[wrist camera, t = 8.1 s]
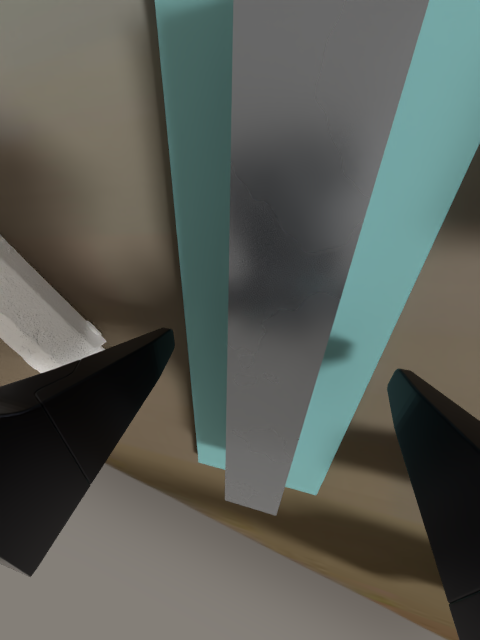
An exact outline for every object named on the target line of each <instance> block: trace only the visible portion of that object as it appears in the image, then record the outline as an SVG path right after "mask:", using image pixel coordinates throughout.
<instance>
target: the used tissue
mask: <svg viewBox="0 0 480 640" xmlns="http://www.w3.org/2000/svg"><path fill="white" fill-rule="evenodd" d="M101 335H102V333H101V332H99V331H98V330H97V329H96V327H95V326H94V325H93V324H92V323H90V322H89V321H86V320H85V319H84V318H83V317H82V316H81V315H80V314H79V313H78V312H77V311H76V310H75V309H74V308H73V307H72V306H71V305H70V304H69V303H68V302H67V301H66V300H65V299H64V298H63V297H62V296H61V295H60V294H59V293H58V292H57V291H56V290H55V289H54V288H53V287H52V286H51V285H50V284H49V283H48V282H47V281H46V280H45V279H44V278H43V277H42V276H41V275H40V274H39V273H38V272H37V271H36V270H35V269H34V268H33V267H32V266H30V265H29V264H28V262H26V260H25V259H24V258H23V257H22V256H21V255H20V254H19V253H17V252H16V250H15V249H14V248H13V247H12V246H11V245H9V244H8V242H7V241H6V240H5V239H4V238H3V237H2V236H1V235H0V338H1V339H2V340H3V341H4V342H5V343H6V344H8V345H9V346H10V347H11V348H12V349H13V350H14V351H16V352H17V353H18V354H19V355H20V356H22V357H23V359H24V360H25V361H26V362H27V363H28V364H29V365H30V366H32V367H33V368H34V369H35V370H36V369H37V370H38V371H39V372H40V373H44V372H47V371H50V370H52V369H55V368H58V367H61V366H63V365H66V364H69V363H71V362H74V361H77V360H81V359H82V358H85V357H87V356H90V355H92V354H95V353H98V352H100V351H103V350H105V349H104V348H103V347H102V346H101V345H103V344H104V343H105V342H106V340H105V339H104V338H103V337H102V336H101Z"/></svg>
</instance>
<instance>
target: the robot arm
mask: <svg viewBox="0 0 480 640" xmlns="http://www.w3.org/2000/svg"><path fill="white" fill-rule="evenodd" d="M174 347H175V343H174V335H173V331H172V329H169V328H161V329H158V330H155V331H153V332H150V333H147V334H145V335H142V336H140V337H137V338H134V339H132V340H129V341H127V342H124V343H121V344H119V345H116V346H113V347H111V348H108V349H106V350H103V351H100V352H98V353H95V354H92V355H90V356H87V357H85V358H82V359H81V360H77V361H74V362H71V363H69V364H66V365H63V366H61V367H58V368H55V369H52V370H50V371H47V372H44V373H41V374H38V375H35V376H32V377H29V378H26V379H23V380H19V381H16V382H13V383H10V384H7V385H4V386H1V387H0V564H2V565H4V566H6V567H8V568H11V569H13V570H15V571H18V572H20V573H22V574H24V575H27V576H29V577H31V576H32V574H33V573H34V572H35V570H36V569H37V567H38V566H39V564H40V563H41V561H42V560H43V558H44V557H45V555H46V553H47V552H48V550H49V549H50V547H51V546H52V544H53V543H54V541H55V539H56V538H57V536H58V535H59V533H60V532H61V530H62V529H63V527H64V526H65V524H66V523H67V521H68V519H69V518H70V516H71V515H72V513H73V512H74V510H75V508H76V507H77V505H78V504H79V502H80V501H81V499H82V498H83V496H84V495H85V493H86V492H87V490H88V488H89V487H90V484H91V483H92V482H93V480H94V479H95V477H96V475H97V474H98V473H99V471H100V470H101V468H102V466H103V465H104V463H105V462H106V460H107V459H108V457H109V456H110V454H111V452H112V451H113V449H114V448H115V446H116V445H117V443H118V442H119V440H120V438H121V437H122V435H123V434H124V432H125V431H126V429H127V428H128V426H129V424H130V423H131V421H132V420H133V418H134V417H135V415H136V414H137V412H138V411H139V409H140V407H141V406H142V404H143V403H144V401H145V400H146V398H147V397H148V395H149V393H150V392H151V390H152V389H153V387H154V386H155V384H156V383H157V381H158V379H159V378H160V376H161V374H162V372H163V370H164V368H165V366H166V364H167V362H168V360H169V358H170V356H171V354H172V352H173V350H174ZM387 391H388V396H389V402H390V407H391V413H392V418H393V423H394V428H395V432H396V435H397V439H398V442H399V445H400V448H401V451H402V455H403V458H404V461H405V464H406V468H407V471H408V474H409V477H410V481H411V484H412V487H413V490H414V493H415V497H416V500H417V503H418V506H419V510H420V513H421V516H422V519H423V523H424V526H425V529H426V532H427V535H428V539H429V542H430V545H431V548H432V552H433V555H434V558H435V561H436V565H437V568H438V571H439V574H440V577H441V581H442V584H443V587H444V590H445V594H446V597H447V600H448V602H449V603H450V604H449V607H450V611H451V614H452V617H453V620H454V624H455V627H456V630H457V633H458V636H459V640H480V421H479V420H478V419H476V418H475V417H473V416H472V415H471V414H469V413H468V412H467V411H465V410H464V409H462V408H461V407H460V406H458V405H457V404H456V403H454V402H453V401H451V400H450V399H449V398H447V397H446V396H445V395H443V394H442V393H441V392H439V391H438V390H436V389H435V388H434V387H432V386H431V385H430V384H428V383H427V382H425V381H424V380H423V379H421V378H420V377H419V376H417V375H416V374H414V373H413V372H412V371H410V370H404V369H397V370H395V372H394V374H393V376H392V378H391V380H390V381H389V383H388V387H387Z"/></svg>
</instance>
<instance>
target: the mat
mask: <svg viewBox="0 0 480 640" xmlns="http://www.w3.org/2000/svg"><path fill="white" fill-rule="evenodd" d="M155 9H156V19H157V30H158V40H159V51H160V61H161V72H162V82H163V93H164V103H165V114H166V124H167V135H168V145H169V156H170V166H171V177H172V187H173V198H174V208H175V219H176V229H177V240H178V250H179V261H180V271H181V282H182V292H183V303H184V313H185V324H186V334H187V345H188V355H189V366H190V376H191V387H192V397H193V408H194V418H195V429H196V439H197V450H198V460H199V462H200V463H203V464H207V465H210V466H214V467H217V468H221V469H224V470H225V462H226V403H227V344H228V285H229V226H230V168H231V109H232V50H233V0H155ZM479 144H480V0H429V3H428V7H427V10H426V13H425V17H424V20H423V24H422V27H421V30H420V34H419V37H418V40H417V44H416V47H415V50H414V54H413V57H412V61H411V64H410V67H409V71H408V74H407V77H406V81H405V84H404V87H403V91H402V94H401V98H400V101H399V104H398V108H397V111H396V114H395V118H394V121H393V124H392V128H391V131H390V135H389V138H388V141H387V145H386V148H385V151H384V155H383V158H382V161H381V165H380V168H379V172H378V175H377V178H376V182H375V185H374V188H373V192H372V195H371V198H370V202H369V205H368V209H367V212H366V215H365V219H364V222H363V225H362V229H361V232H360V236H359V239H358V242H357V246H356V249H355V252H354V256H353V259H352V262H351V266H350V269H349V273H348V276H347V279H346V283H345V286H344V289H343V293H342V296H341V299H340V303H339V306H338V310H337V313H336V316H335V320H334V323H333V326H332V330H331V333H330V336H329V340H328V343H327V347H326V350H325V353H324V357H323V360H322V363H321V367H320V370H319V373H318V377H317V380H316V384H315V387H314V390H313V394H312V397H311V400H310V404H309V407H308V410H307V414H306V417H305V421H304V424H303V427H302V431H301V434H300V437H299V441H298V444H297V448H296V451H295V454H294V458H293V461H292V464H291V468H290V471H289V474H288V478H287V481H286V485H285V487H288V488H292V489H295V490H299V491H302V492H306V493H310V494H313V495H317V493H318V491H319V488H320V486H321V484H322V482H323V480H324V478H325V476H326V473H327V471H328V469H329V467H330V465H331V463H332V460H333V458H334V456H335V454H336V452H337V450H338V447H339V445H340V443H341V441H342V439H343V437H344V435H345V432H346V430H347V428H348V426H349V424H350V422H351V419H352V417H353V415H354V413H355V411H356V409H357V407H358V404H359V402H360V400H361V398H362V396H363V394H364V391H365V389H366V387H367V385H368V383H369V381H370V379H371V376H372V374H373V372H374V370H375V368H376V366H377V363H378V361H379V359H380V357H381V355H382V353H383V350H384V348H385V346H386V344H387V342H388V340H389V338H390V335H391V333H392V331H393V329H394V327H395V325H396V322H397V320H398V318H399V316H400V314H401V312H402V310H403V307H404V305H405V303H406V301H407V299H408V297H409V294H410V292H411V290H412V288H413V286H414V284H415V282H416V279H417V277H418V275H419V273H420V271H421V269H422V266H423V264H424V262H425V260H426V258H427V256H428V253H429V251H430V249H431V247H432V245H433V243H434V241H435V238H436V236H437V234H438V232H439V230H440V228H441V225H442V223H443V221H444V219H445V217H446V215H447V213H448V210H449V208H450V206H451V204H452V202H453V200H454V197H455V195H456V193H457V191H458V189H459V187H460V185H461V182H462V180H463V178H464V176H465V174H466V172H467V169H468V167H469V165H470V163H471V161H472V159H473V156H474V154H475V152H476V150H477V148H478V146H479Z"/></svg>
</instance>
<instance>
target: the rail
mask: <svg viewBox="0 0 480 640" xmlns="http://www.w3.org/2000/svg"><path fill="white" fill-rule="evenodd" d="M428 3H429V0H233V50H232V109H231V168H230V226H229V285H228V344H227V403H226V462H225V500H226V501H229V502H233V503H236V504H239V505H242V506H246V507H249V508H252V509H255V510H259V511H262V512H265V513H268V514H272V515H275V516H276V515H277V511H278V508H279V505H280V501H281V498H282V495H283V491H284V488H285V485H286V481H287V478H288V474H289V471H290V468H291V464H292V461H293V458H294V454H295V451H296V448H297V444H298V441H299V437H300V434H301V431H302V427H303V424H304V421H305V417H306V414H307V410H308V407H309V404H310V400H311V397H312V394H313V390H314V387H315V384H316V380H317V377H318V373H319V370H320V367H321V363H322V360H323V357H324V353H325V350H326V347H327V343H328V340H329V336H330V333H331V330H332V326H333V323H334V320H335V316H336V313H337V310H338V306H339V303H340V299H341V296H342V293H343V289H344V286H345V283H346V279H347V276H348V273H349V269H350V266H351V262H352V259H353V256H354V252H355V249H356V246H357V242H358V239H359V236H360V232H361V229H362V225H363V222H364V219H365V215H366V212H367V209H368V205H369V202H370V198H371V195H372V192H373V188H374V185H375V182H376V178H377V175H378V172H379V168H380V165H381V161H382V158H383V155H384V151H385V148H386V145H387V141H388V138H389V135H390V131H391V128H392V124H393V121H394V118H395V114H396V111H397V108H398V104H399V101H400V98H401V94H402V91H403V87H404V84H405V81H406V77H407V74H408V71H409V67H410V64H411V61H412V57H413V54H414V50H415V47H416V44H417V40H418V37H419V34H420V30H421V27H422V24H423V20H424V17H425V13H426V10H427V7H428Z"/></svg>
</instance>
